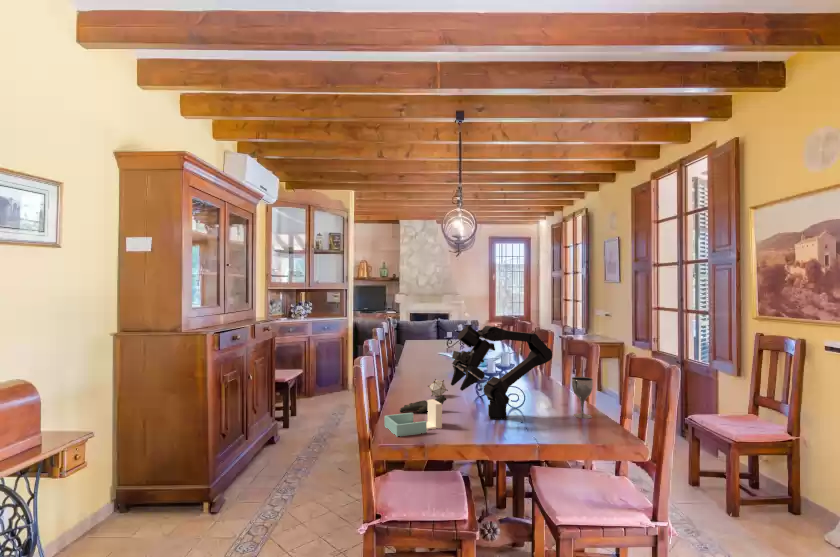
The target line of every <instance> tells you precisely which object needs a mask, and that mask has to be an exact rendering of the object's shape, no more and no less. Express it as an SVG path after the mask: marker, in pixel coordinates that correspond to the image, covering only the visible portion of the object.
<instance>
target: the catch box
mask: <svg viewBox="0 0 840 557" xmlns="http://www.w3.org/2000/svg"><path fill="white" fill-rule="evenodd" d="M426 422H427V421H426V420H423V421H416V422H414V412H405V413H398V414H397V413H395V414H387V415H384V427H385V428H386V429H387V428H388V429H389V430H390V431H391V432H390V431H389V430H388V429H387V430H388V431H389V432H390V433H392V434H393V435H394V434H395V435H396V436H395V435H394V436H395V437H397V438H398V436H400V437H406V436H414V435H420V434H421V433H422V434H427V431H428V430H427V426H426Z"/></svg>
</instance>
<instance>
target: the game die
mask: <svg viewBox="0 0 840 557" xmlns="http://www.w3.org/2000/svg"><path fill="white" fill-rule="evenodd" d="M427 387H429V390H430V391H431V392H430V393H431V397H433V396H436V397H440V396H442V395H444V393H445V392H446V391H447V392H448V391H449V390H448V389H447V388H446V385H445V380H444V379H443V380H437V379H436V378H434V380H433V382H431V384H430V385H427Z"/></svg>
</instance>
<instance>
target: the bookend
mask: <svg viewBox="0 0 840 557" xmlns="http://www.w3.org/2000/svg"><path fill="white" fill-rule="evenodd" d="M426 401H427V402H428V412H427V421H426V426H427V431H429V430H428V429H432V430H437V429H436V428H440V429H442V428H443V404H441V403H440V402H438V401H436V400H435V399H427V400H426Z"/></svg>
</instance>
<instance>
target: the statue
mask: <svg viewBox="0 0 840 557" xmlns="http://www.w3.org/2000/svg"><path fill="white" fill-rule="evenodd" d="M434 400H436V401H438V402H440V403H441V404H442V405H443V404H444V402H446V401H447V397H446V396H445V394H442V395H441V396H437V397H436V398H435V399H434ZM426 411H428V401H427V400H418V401H415V402H410V403H408V404H404V406H403V407H401V408H400V409H399V412H400V413H403V412H418V413H419V414H423V413H427V412H426Z"/></svg>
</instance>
